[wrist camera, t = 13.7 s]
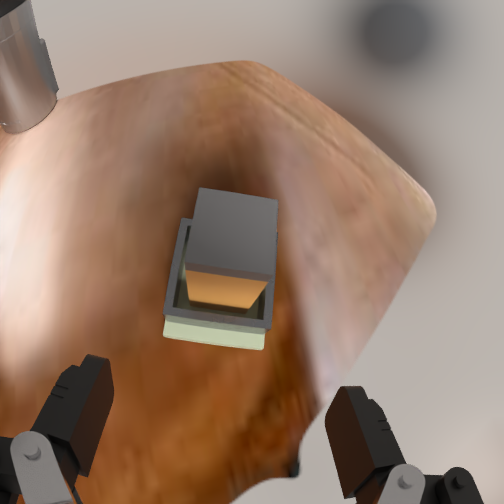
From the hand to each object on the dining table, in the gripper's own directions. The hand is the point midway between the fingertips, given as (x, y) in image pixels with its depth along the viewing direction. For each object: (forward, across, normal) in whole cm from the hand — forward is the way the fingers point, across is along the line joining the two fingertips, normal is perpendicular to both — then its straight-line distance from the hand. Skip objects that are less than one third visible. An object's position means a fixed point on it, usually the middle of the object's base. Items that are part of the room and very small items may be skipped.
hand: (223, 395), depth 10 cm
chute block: (+15, 0, +4) cm, 16 cm away
